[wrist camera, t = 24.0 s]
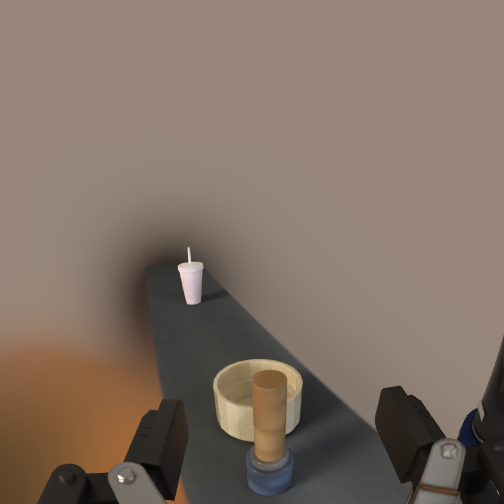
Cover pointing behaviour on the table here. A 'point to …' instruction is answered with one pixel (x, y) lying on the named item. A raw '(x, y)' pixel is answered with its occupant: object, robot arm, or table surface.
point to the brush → (269, 436)
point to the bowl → (240, 396)
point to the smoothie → (191, 280)
